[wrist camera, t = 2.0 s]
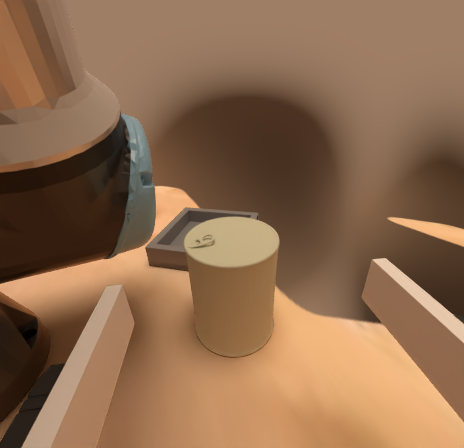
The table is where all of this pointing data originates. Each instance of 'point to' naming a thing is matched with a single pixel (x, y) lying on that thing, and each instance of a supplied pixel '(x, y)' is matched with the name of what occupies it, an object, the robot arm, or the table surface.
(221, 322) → the can
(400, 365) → the table surface
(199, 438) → the table surface
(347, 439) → the table surface
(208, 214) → the tray
